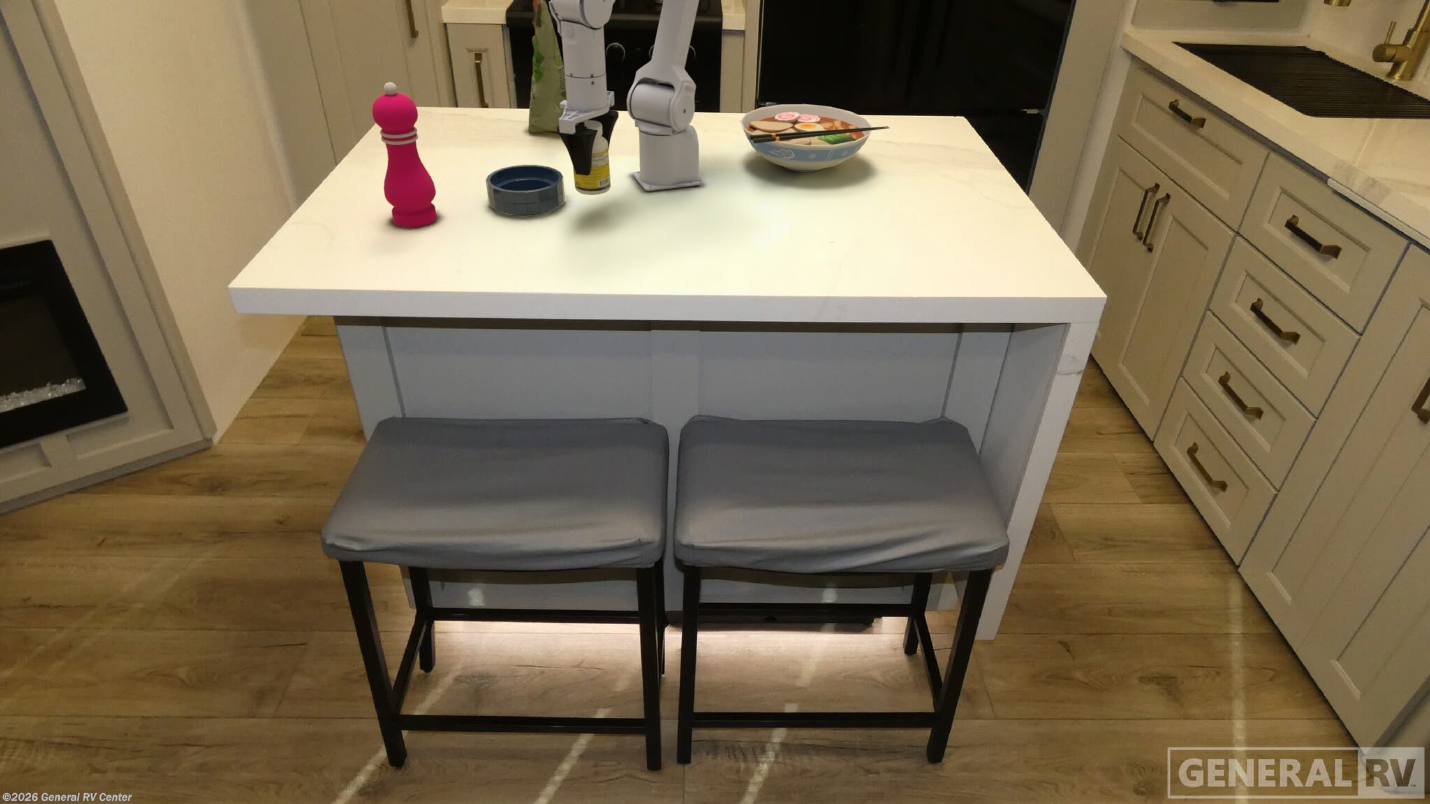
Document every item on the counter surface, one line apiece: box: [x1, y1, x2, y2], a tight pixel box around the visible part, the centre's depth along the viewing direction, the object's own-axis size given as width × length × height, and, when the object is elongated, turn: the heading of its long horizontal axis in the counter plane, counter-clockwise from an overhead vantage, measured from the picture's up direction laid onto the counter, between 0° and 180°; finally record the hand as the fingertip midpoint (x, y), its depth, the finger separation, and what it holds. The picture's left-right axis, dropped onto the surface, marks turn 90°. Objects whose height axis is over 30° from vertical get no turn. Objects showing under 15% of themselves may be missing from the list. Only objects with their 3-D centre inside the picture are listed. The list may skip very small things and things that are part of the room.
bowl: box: [485, 164, 566, 217], centre depth 134 cm, size 12×12×4 cm
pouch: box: [527, 0, 567, 134], centre depth 157 cm, size 11×12×25 cm
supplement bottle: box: [572, 120, 612, 196], centre depth 128 cm, size 5×5×10 cm
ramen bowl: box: [739, 103, 890, 173], centre depth 150 cm, size 25×23×8 cm
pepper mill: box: [371, 81, 438, 228], centre depth 124 cm, size 7×7×20 cm
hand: (591, 167), depth 129 cm, fingers closed on supplement bottle, 5 cm apart
